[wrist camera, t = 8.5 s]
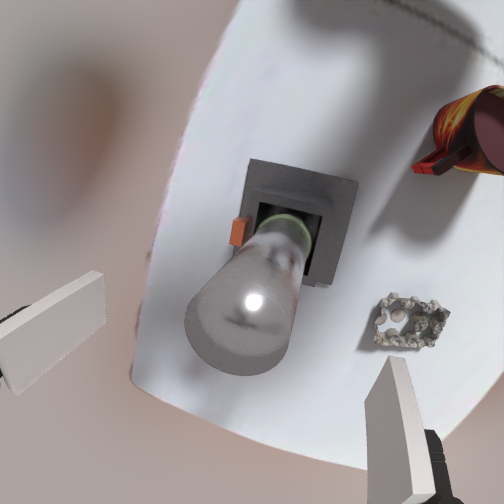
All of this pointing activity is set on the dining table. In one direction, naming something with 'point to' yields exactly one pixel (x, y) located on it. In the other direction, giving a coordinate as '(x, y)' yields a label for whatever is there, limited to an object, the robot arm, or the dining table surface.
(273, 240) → the column
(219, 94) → the dining table surface
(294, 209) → the stand
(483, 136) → the mug
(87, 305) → the robot arm
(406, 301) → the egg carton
